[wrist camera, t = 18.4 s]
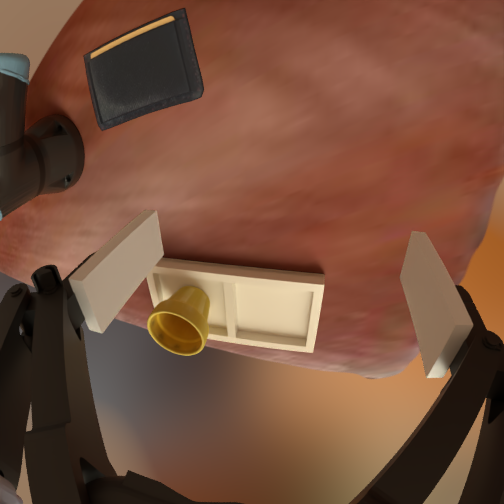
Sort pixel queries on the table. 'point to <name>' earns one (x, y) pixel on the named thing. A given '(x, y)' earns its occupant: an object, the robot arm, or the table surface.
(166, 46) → the wallet
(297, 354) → the table surface
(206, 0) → the table surface
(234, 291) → the divided tray
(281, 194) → the table surface
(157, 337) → the plant pot
